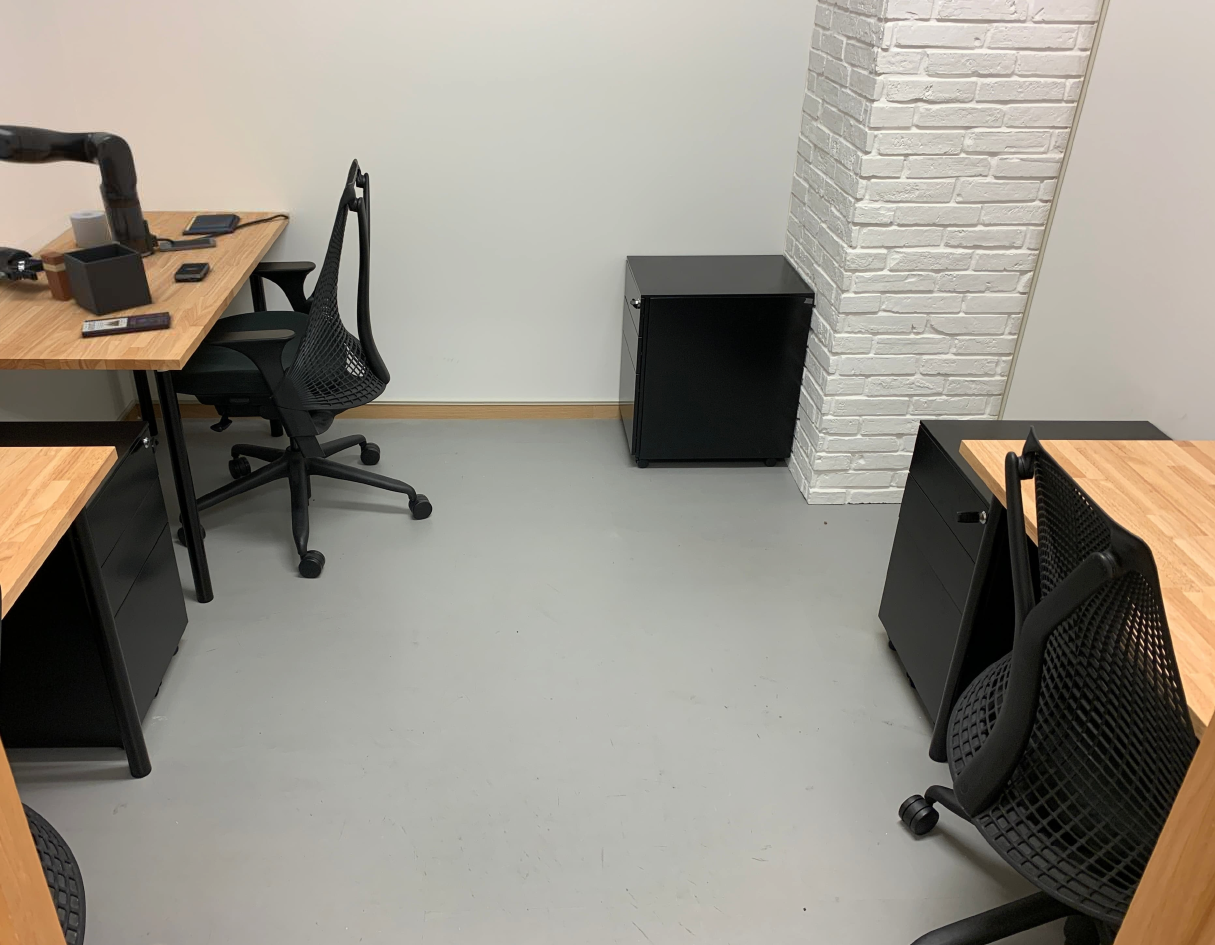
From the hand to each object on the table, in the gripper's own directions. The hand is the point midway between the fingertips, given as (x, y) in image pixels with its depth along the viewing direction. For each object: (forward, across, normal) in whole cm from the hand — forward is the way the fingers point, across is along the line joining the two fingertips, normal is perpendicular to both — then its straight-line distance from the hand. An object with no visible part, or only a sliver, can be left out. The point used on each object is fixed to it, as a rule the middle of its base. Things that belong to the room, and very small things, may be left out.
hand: (51, 272), depth 230 cm
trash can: (+17, -3, -6) cm, 18 cm away
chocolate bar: (+34, +7, -6) cm, 35 cm away
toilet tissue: (-35, -37, -6) cm, 52 cm away
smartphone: (-9, -48, -6) cm, 49 cm away
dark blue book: (-20, -68, -6) cm, 71 cm away
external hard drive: (+16, -28, -6) cm, 33 cm away
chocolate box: (+2, 0, -6) cm, 7 cm away
